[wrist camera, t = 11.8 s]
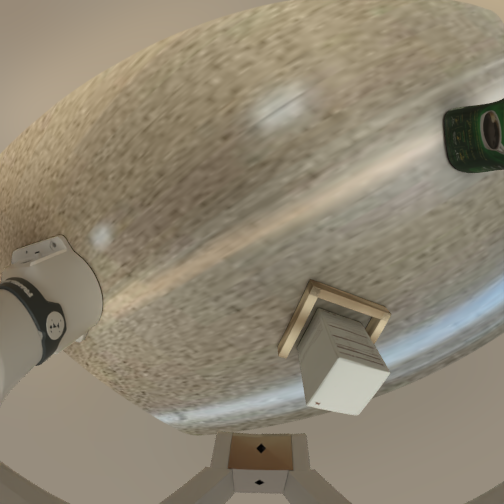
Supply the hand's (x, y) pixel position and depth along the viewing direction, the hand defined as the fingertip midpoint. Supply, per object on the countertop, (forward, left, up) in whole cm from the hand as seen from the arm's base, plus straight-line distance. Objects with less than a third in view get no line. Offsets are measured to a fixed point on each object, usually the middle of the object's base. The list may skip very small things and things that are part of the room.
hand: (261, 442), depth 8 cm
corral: (+10, -12, -29) cm, 33 cm away
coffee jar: (+29, +17, -29) cm, 45 cm away
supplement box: (+10, -13, -29) cm, 33 cm away
